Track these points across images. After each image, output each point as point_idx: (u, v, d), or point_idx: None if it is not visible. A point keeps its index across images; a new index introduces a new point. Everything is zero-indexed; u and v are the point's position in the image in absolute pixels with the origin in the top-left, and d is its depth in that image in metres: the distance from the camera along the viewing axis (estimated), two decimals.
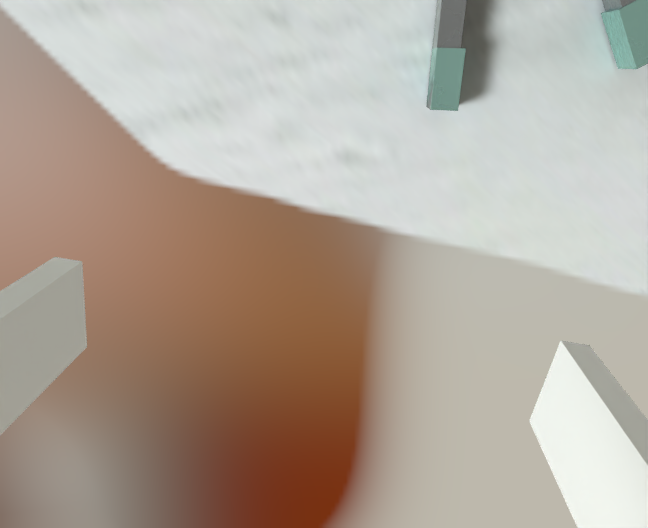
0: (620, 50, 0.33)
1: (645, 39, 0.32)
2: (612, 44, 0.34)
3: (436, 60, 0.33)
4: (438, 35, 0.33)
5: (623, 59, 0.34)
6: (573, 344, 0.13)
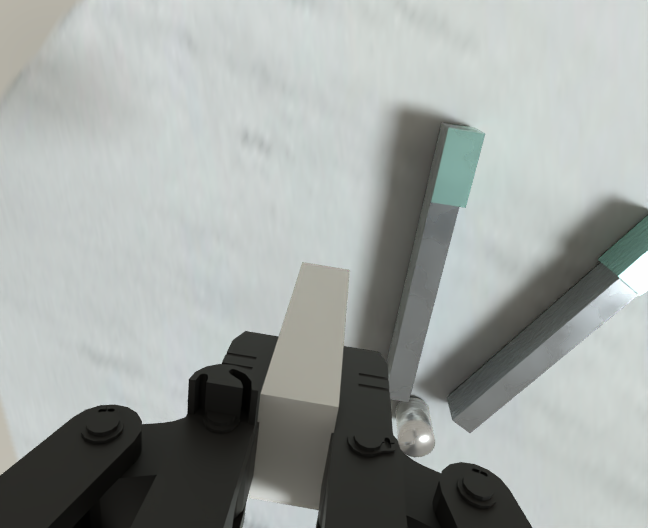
0: None
1: (459, 159, 0.26)
2: None
3: None
4: (626, 302, 0.28)
5: None
6: (335, 269, 0.15)
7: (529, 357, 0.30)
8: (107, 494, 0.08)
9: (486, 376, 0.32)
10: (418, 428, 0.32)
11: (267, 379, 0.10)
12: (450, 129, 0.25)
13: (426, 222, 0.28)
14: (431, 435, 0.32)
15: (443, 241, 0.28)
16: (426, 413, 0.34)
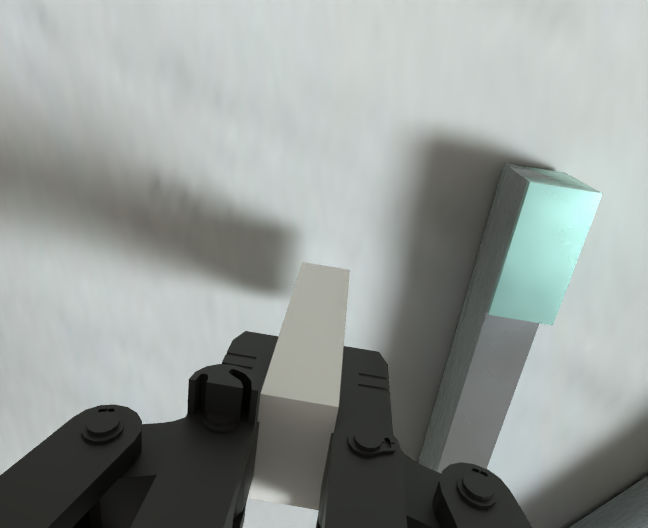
0: None
1: (547, 239, 0.13)
2: None
3: None
4: None
5: None
6: (335, 269, 0.15)
7: None
8: (107, 494, 0.08)
9: None
10: None
11: (267, 379, 0.10)
12: (533, 184, 0.13)
13: (477, 346, 0.15)
14: None
15: (506, 378, 0.15)
16: None
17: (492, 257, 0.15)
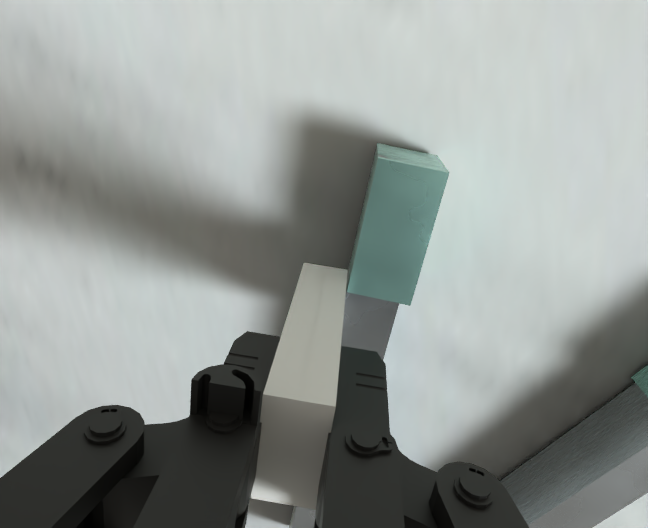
0: None
1: (398, 217, 0.13)
2: None
3: None
4: None
5: None
6: (333, 268, 0.15)
7: None
8: (110, 494, 0.08)
9: None
10: None
11: (269, 379, 0.10)
12: (381, 160, 0.13)
13: None
14: None
15: None
16: None
17: (357, 236, 0.15)
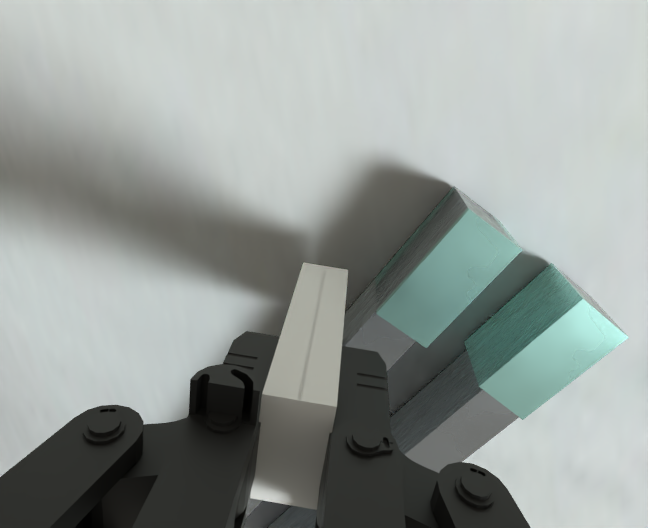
0: None
1: (458, 269, 0.14)
2: None
3: (540, 402, 0.15)
4: None
5: None
6: (333, 268, 0.15)
7: None
8: (109, 494, 0.08)
9: (298, 519, 0.20)
10: None
11: (269, 379, 0.10)
12: (470, 213, 0.13)
13: (352, 338, 0.15)
14: None
15: None
16: None
17: (403, 264, 0.15)
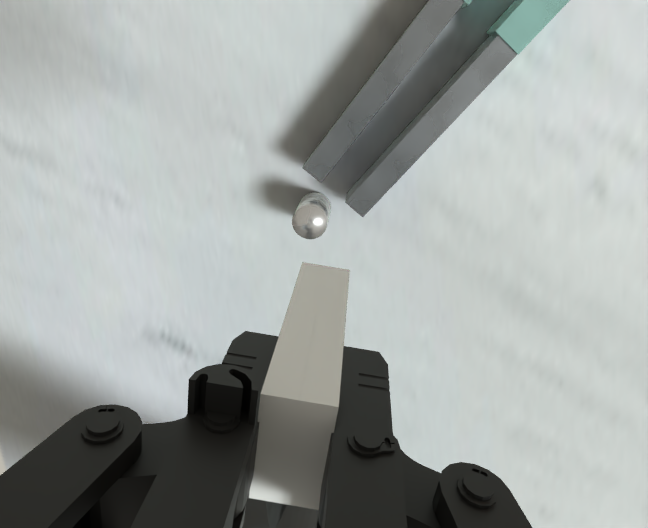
0: None
1: None
2: None
3: (528, 42, 0.28)
4: (506, 64, 0.29)
5: None
6: (335, 269, 0.15)
7: (415, 129, 0.31)
8: (107, 494, 0.08)
9: (380, 160, 0.33)
10: (310, 205, 0.33)
11: (267, 379, 0.10)
12: None
13: (428, 2, 0.28)
14: (323, 213, 0.33)
15: (433, 31, 0.29)
16: (324, 202, 0.35)
17: None
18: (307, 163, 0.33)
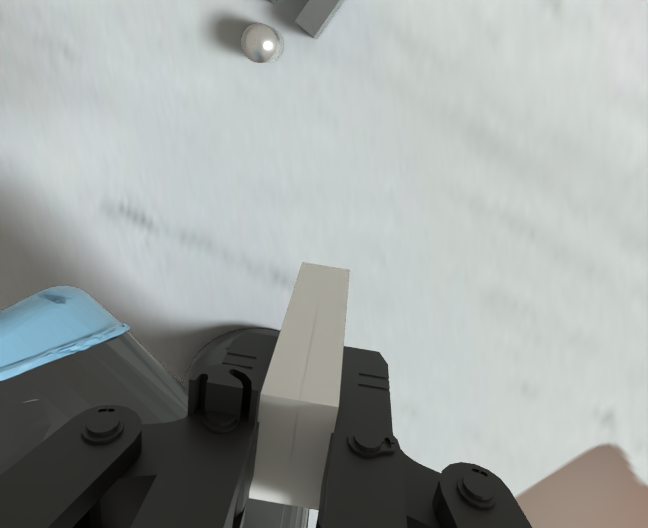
0: None
1: None
2: None
3: None
4: None
5: None
6: (335, 269, 0.15)
7: None
8: (107, 494, 0.08)
9: None
10: (258, 23, 0.32)
11: (267, 379, 0.10)
12: None
13: None
14: (271, 31, 0.32)
15: None
16: (275, 30, 0.34)
17: None
18: None
